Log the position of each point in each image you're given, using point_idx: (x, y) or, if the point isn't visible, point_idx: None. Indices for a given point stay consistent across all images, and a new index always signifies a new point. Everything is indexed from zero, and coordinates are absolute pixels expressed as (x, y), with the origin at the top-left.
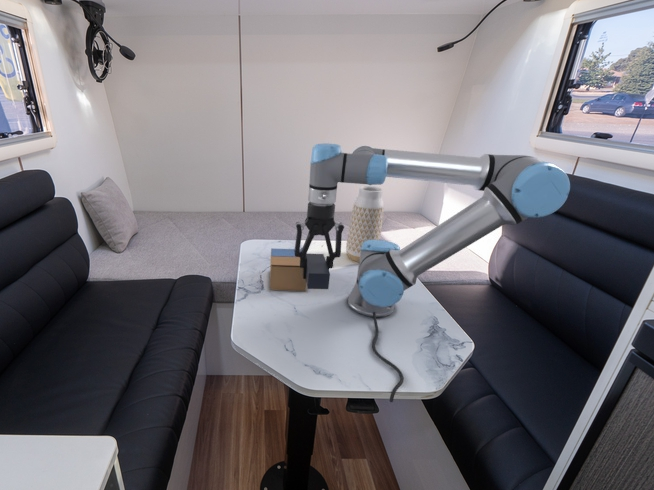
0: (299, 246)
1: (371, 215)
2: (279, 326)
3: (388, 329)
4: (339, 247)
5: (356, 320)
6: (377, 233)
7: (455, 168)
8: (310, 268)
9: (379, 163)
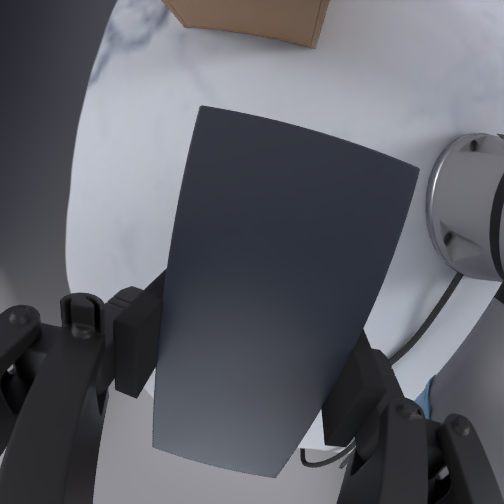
0: (2, 444)
1: None
2: (159, 249)
3: (448, 322)
4: None
5: (405, 270)
6: None
7: None
8: (172, 415)
9: None
